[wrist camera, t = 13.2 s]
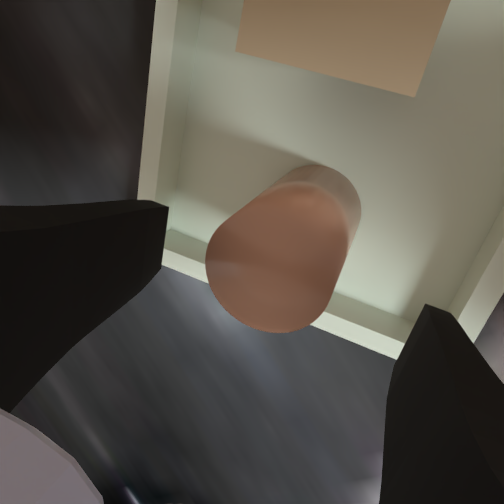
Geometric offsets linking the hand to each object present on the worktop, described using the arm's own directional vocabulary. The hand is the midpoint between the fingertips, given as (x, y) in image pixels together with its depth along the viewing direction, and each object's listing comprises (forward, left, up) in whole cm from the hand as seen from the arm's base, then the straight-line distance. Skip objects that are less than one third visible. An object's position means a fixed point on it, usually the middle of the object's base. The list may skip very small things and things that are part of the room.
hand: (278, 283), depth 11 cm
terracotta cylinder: (0, 0, -6) cm, 6 cm away
